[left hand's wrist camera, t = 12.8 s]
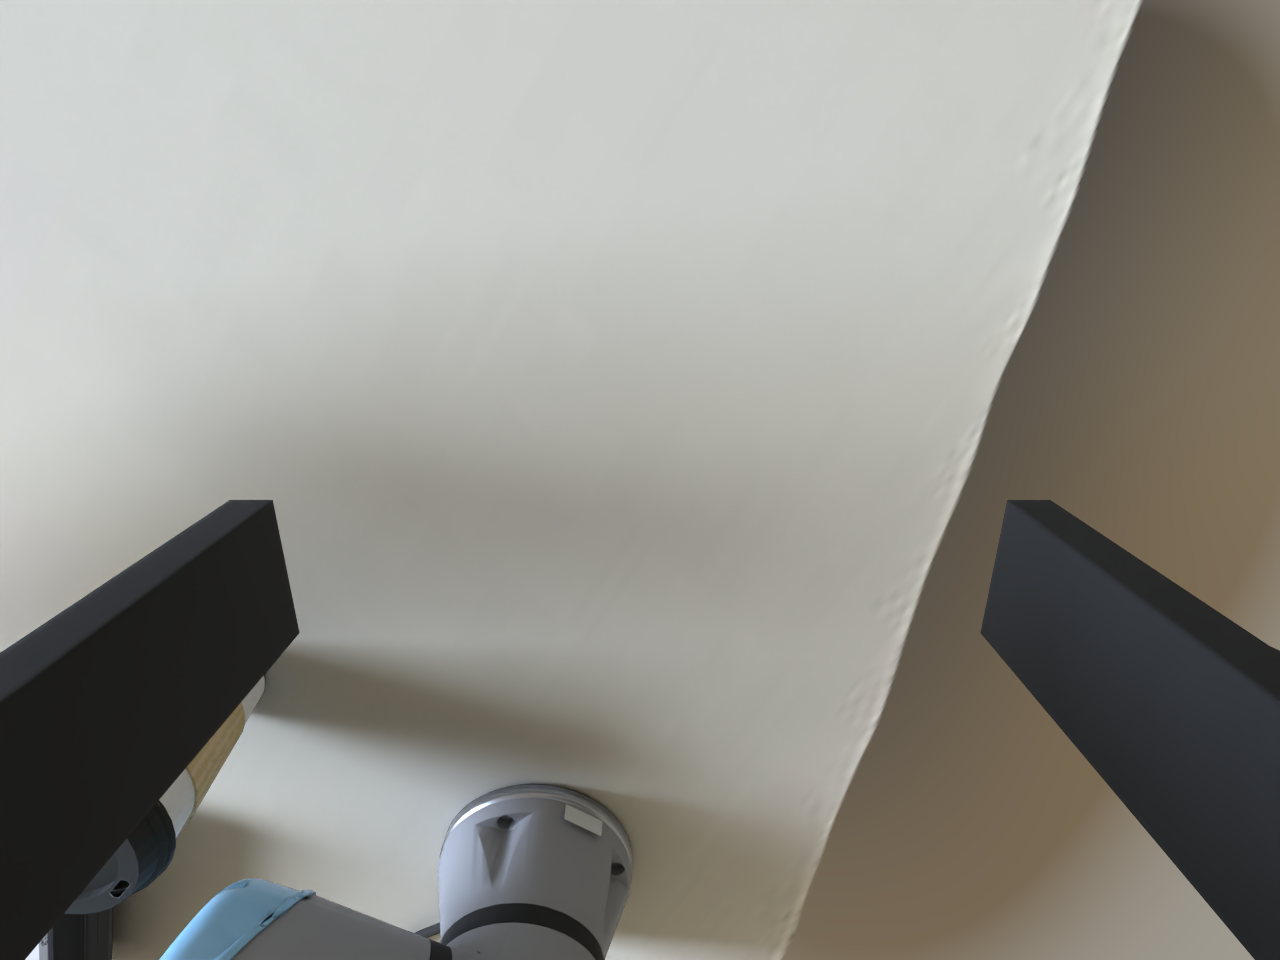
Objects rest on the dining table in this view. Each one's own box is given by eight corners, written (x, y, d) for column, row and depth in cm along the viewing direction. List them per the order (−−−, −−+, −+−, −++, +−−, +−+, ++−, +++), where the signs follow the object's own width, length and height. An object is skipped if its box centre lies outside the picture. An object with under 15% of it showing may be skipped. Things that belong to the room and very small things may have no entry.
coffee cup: (192, 591, 47) (1, 748, 33) (316, 670, 49) (186, 848, 35) (127, 682, 50) (-77, 862, 35) (247, 753, 52) (100, 949, 38)
